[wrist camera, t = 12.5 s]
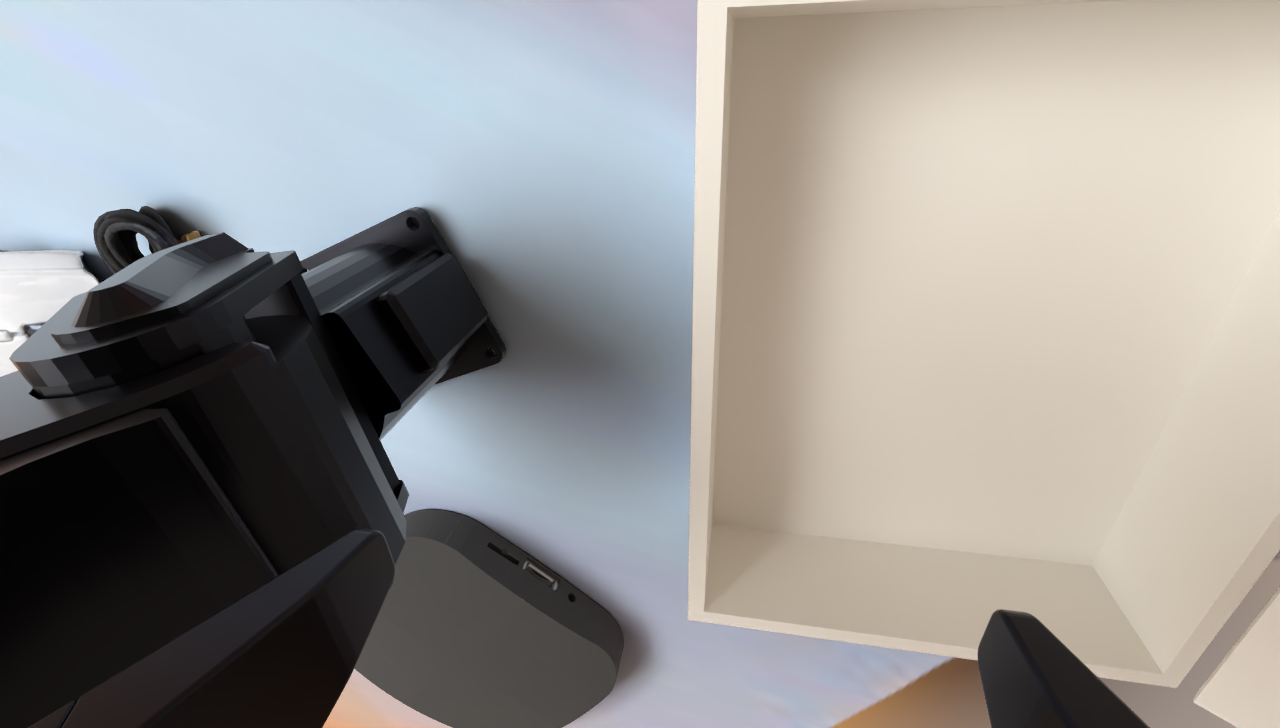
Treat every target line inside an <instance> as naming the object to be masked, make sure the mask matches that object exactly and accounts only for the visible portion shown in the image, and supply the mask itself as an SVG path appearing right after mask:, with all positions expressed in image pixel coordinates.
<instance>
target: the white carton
mask: <svg viewBox="0 0 1280 728" xmlns="http://www.w3.org/2000/svg"><path fill="white" fill-rule="evenodd" d="M1279 551H1280V0H698V21H697V83H696V144H695V206H694V268H693V329H692V391H691V452H690V514H689V576H688V620H692V621H699V622H706V623H713V624H720V625H728V626H735V627H742V628H749V629H756V630H763V631H771V632H778V633H785V634H792V635H799V636H806V637H814V638H821V639H828V640H835V641H842V642H849V643H857V644H864V645H871V646H878V647H885V648H892V649H900V650H907V651H914V652H921V653H928V654H935V655H943V656H950V657H957V658H964V659H972V660H978V657H977V656H978V647H979V643H980V641H981V639H982V636H983V634H984V632H985V629H986V627H987V625H988V622H989V620H990V618H991V616H992V614H993V612H995V611H996V610H998V609H1005V610H1013V611H1021V612H1026V613H1029V614H1032V615H1033V616H1035V617H1036V618H1037V619H1038V620H1040V621H1041V622H1042V623H1043V624H1044V625H1045V626H1046V627H1047V628H1048V629H1049V630H1050V631H1051V632H1052V633H1053V634H1054V635H1055V636H1056V637H1057V638H1058V639H1059V640H1060V641H1061V642H1062V643H1063V644H1064V645H1065V646H1066V647H1067V648H1068V649H1069V650H1070V651H1071V652H1072V653H1073V654H1075V655H1076V656H1077V657H1078V658H1079V659H1080V660H1081V661H1082V662H1083V663H1084V664H1085V665H1086V666H1087V667H1088V668H1089V669H1090V670H1091V671H1092V672H1093V673H1094V674H1095V675H1096V676H1097V677H1100V678H1108V679H1115V680H1122V681H1130V682H1136V683H1144V684H1151V685H1158V686H1165V687H1172V688H1177V687H1178V686H1179V684H1180V683H1181V681H1182V680H1183V679H1184V678H1185V676H1186V675H1187V674H1188V672H1189V671H1190V670H1191V668H1192V667H1193V666H1194V664H1195V663H1196V662H1197V660H1198V659H1199V658H1200V656H1201V655H1202V654H1203V652H1204V651H1205V649H1206V648H1207V647H1208V645H1209V644H1210V643H1211V641H1212V640H1213V639H1214V637H1215V636H1216V635H1217V633H1218V632H1219V631H1220V629H1221V628H1222V627H1223V625H1224V624H1225V623H1226V621H1227V620H1228V619H1229V617H1230V616H1231V615H1232V613H1233V612H1234V611H1235V609H1236V608H1237V607H1238V605H1239V604H1240V603H1241V601H1242V600H1243V599H1244V597H1245V596H1246V595H1247V593H1248V592H1249V591H1250V589H1251V588H1252V587H1253V585H1254V584H1255V583H1256V581H1257V580H1258V579H1259V577H1260V576H1261V574H1262V573H1263V572H1264V570H1265V569H1266V568H1267V567H1268V565H1269V564H1270V563H1271V561H1272V560H1273V559H1274V557H1275V556H1276V555H1277V553H1278V552H1279Z"/></svg>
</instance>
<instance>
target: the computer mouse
mask: <svg viewBox="0 0 1280 728" xmlns="http://www.w3.org/2000/svg"><path fill="white" fill-rule="evenodd" d="M137 233H140V234H142V235H144V236H145V237H146V238H147V239H148V242H149V249H150V251H151V253H152V254H153V253H156V252H158V251H161V250H164V249H167V248H170V247H172V246H175V245H178V244H181V243H184V242H187V241H190V240H193V239H196V238H199V237H201V236H200V233H199V231H193V232H190V233H188V234H183V235H182V236H181V239H180V241H178V240H177V239H176V238H175V236H174V235H173V233H172V232H171V230H170V228H169V227H168V225H167V224H166V222H165V221H164V220H163V219H162V217H161V216H160V215H159V214H158V213H157V212H156V211H155V210H154V209H152V208H150V207H149V206H143V207H141V209H140V211H139V212H137V211H134V210H131V209H120V210H116V211H110V212H106V213H104V214H103V215H101V216H99V218H98V219H97V221H96V222H95V224H94V240H95V245H96V247H97V249H98V252H99V254H100V256H101V257H102V259H103V261H104V263H105V264H106V265H107V266H108V268H109V269H110V270H111V271H112V272H113V274H116V273H117V272H119V271H121V270H122V269H124V268H125V267H127V266H129V265H130V264H132V263H133V262H135V261H137V260H139V259H141V258H143V257H144V255H143V254H142V253H141V252H140V250H139V249H138V244H137V241H136V234H137ZM83 255H84V253H83V252H82V251H77V250H40V251H0V377H1V376H4V375H7V374H10V373H13V372H15V371H18V369H17V368H16V367H15V365H14V364H13V363H12V362H11V360H10V359H9V358H10V357H11V355H12V353H13V352H14V351H15V350H16V349H17V348H19V347H20V346H21V345H22V344H23V343H24V342H25V341H26V340H27V339H28V338H29V337H30V336H32V335H33V334H34V333H35V332H36V331H37V330H38V329H39V328H40V327H41V326H42V325H43V324H45V323H46V322H47V321H48V320H49V319H50V318H51V317H52V316H53V315H54V314H55V313H57V312H58V311H59V310H60V309H61V308H62V307H63V306H64V305H65V304H66V303H67V302H68V301H70V300H71V299H72V298H73V297H75V296H77V295H79V294H82V293H85V292H88V291H89V290H90V289H92V288H93V287H95V286H97V285H98V284H100V282H99V281H98V280H97V279H96V277H95V276H94V275H93V274H92V273H91V272H90V270H89V269H88V268H87V267H86V266H85V264H84V263H83V259H82V256H83Z"/></svg>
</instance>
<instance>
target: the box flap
mask: <svg viewBox="0 0 1280 728" xmlns="http://www.w3.org/2000/svg"><path fill="white" fill-rule="evenodd" d="M1193 702H1194V703H1195V704H1197V705H1199V706H1200V707H1203V708H1204V709H1206V710H1207V711H1209V712H1211V713H1213V714H1215V715H1216V716H1218V717H1220V718H1222V719H1223V720H1225V721H1227V722H1228V723H1230V724H1232V725H1234V726H1235V727H1237V728H1280V587H1279V588H1278V590H1277V591H1276V592H1275V593H1274V595H1273V596H1272V597H1271V598H1270V600H1269V601H1268V602H1267V604H1266V605H1265V606H1264V607H1263V609H1262V610H1261V611H1260V612H1259V614H1258V615H1257V616H1256V618H1255V619H1254V620H1253V621H1252V623H1251V624H1250V625H1249V627H1248V628H1247V629H1246V630H1245V632H1244V633H1243V634H1242V635H1241V637H1240V638H1239V639H1238V641H1237V642H1236V643H1235V644H1234V646H1233V647H1232V648H1231V649H1230V651H1229V652H1228V653H1227V655H1226V656H1225V657H1224V658H1223V660H1222V661H1221V662H1220V664H1219V665H1218V666H1217V667H1216V669H1215V670H1214V671H1213V672H1212V674H1211V675H1210V676H1209V678H1208V679H1207V680H1206V681H1205V683H1204V684H1203V685H1202V686H1201V688H1200V689H1199V690H1198V692H1197V693H1196V695H1195V698H1194V701H1193Z"/></svg>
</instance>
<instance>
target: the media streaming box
mask: <svg viewBox="0 0 1280 728" xmlns="http://www.w3.org/2000/svg"><path fill="white" fill-rule="evenodd" d="M404 516H405V518H406V520H407V523H406V542H405V544H404V547H403V549H402V551H401V553H400V555H399V557H398V560H397V562H396V564H395V576H394V580H393V584H392V586H391V588H390V589H389V592H388V594H387V596H386V598H385V601H384V603H383V605H382V607H381V610H380V612H379V614H378V616H377V619H376V621H375V623H374V625H373V628H372V630H371V632H370V634H369V637H368V639H367V641H366V644H365V646H364V648H363V650H362V653H361V655H360V657H359V659H358V661H357V664H356V666H355V669H356V670H357V671H358V672H359V673H361V674H362V675H363V676H364V677H366V678H367V679H368V680H370V681H371V682H372V683H374V684H375V685H376V686H378V687H379V688H380V689H382V690H383V691H385V692H386V693H388V694H389V695H391V696H392V697H394V698H395V699H397V700H399V701H400V702H402V703H404V704H405V705H407V706H409V707H411V708H413V709H414V710H416V711H418V712H420V713H422V714H424V715H426V716H428V717H430V718H432V719H434V720H437V721H439V722H441V723H443V724H446V725H448V726H451V727H453V728H562V727H564V726H565V725H567V724H569V723H571V722H572V721H574V720H576V719H577V718H579V717H580V716H582V715H583V714H585V713H586V712H587V711H589V710H590V709H592V708H593V707H594V706H595V705H597V704H598V703H599V702H600V701H602V700H603V699H604V698H605V697H606V696H607V695H609V693H610V692H611V691H612V689H613V687H614V684H615V681H616V677H617V672H618V668H619V663H620V659H621V654H622V650H623V642H624V641H623V635H622V632H621V629H620V627H619V625H618V624H617V622H616V621H615V619H614V618H613V617H612V616H611V615H610V614H609V613H608V612H607V611H606V610H605V609H603V608H602V607H601V606H600V605H598V604H597V603H596V602H594V601H593V600H592V599H590V598H589V597H588V596H586V595H585V594H583V593H582V592H581V591H579V590H578V589H577V588H575V587H574V586H573V585H571V584H570V583H568V582H567V581H566V580H564V579H563V578H561V577H560V576H559V575H557V574H556V573H554V572H553V571H551V570H550V569H549V568H547V567H546V566H544V565H543V564H541V563H540V562H538V561H537V560H536V559H534V558H533V557H531V556H530V555H528V554H527V553H525V552H524V551H522V550H521V549H519V548H518V547H516V546H515V545H513V544H512V543H510V542H509V541H507V540H505V539H504V538H502V537H501V536H499V535H498V534H496V533H495V532H493V531H491V530H490V529H488V528H487V527H485V526H484V525H482V524H480V523H479V522H477V521H475V520H473V519H471V518H469V517H466V516H464V515H461V514H458V513H454V512H450V511H445V510H437V509H426V510H418V511H414V512H411V513H408V514H406V515H404Z"/></svg>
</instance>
